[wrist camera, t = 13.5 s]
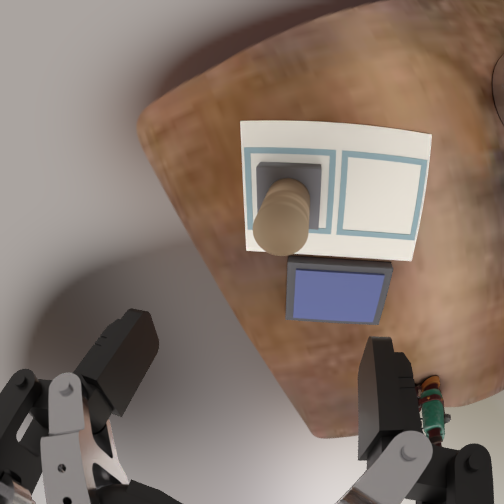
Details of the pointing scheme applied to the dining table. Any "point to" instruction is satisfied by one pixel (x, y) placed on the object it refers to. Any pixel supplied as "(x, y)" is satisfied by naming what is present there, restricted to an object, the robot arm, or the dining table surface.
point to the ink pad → (336, 290)
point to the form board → (346, 183)
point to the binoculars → (432, 410)
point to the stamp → (286, 205)
